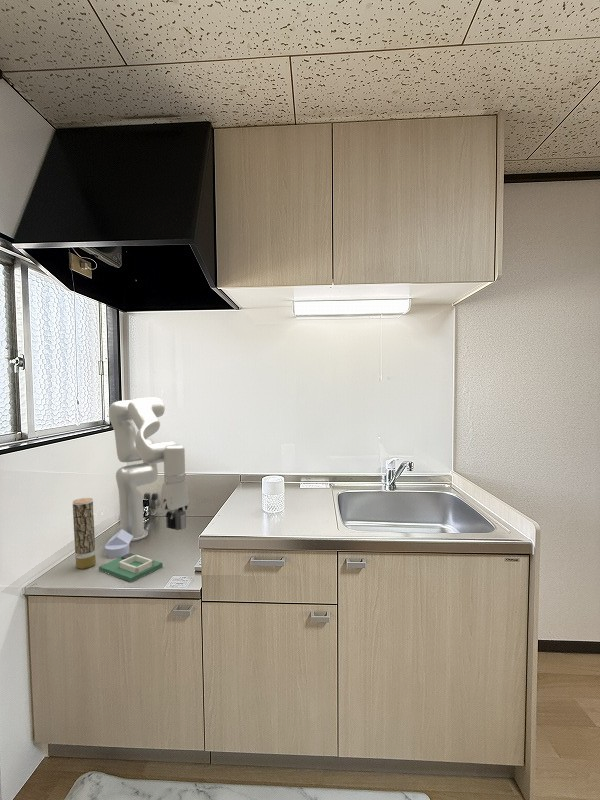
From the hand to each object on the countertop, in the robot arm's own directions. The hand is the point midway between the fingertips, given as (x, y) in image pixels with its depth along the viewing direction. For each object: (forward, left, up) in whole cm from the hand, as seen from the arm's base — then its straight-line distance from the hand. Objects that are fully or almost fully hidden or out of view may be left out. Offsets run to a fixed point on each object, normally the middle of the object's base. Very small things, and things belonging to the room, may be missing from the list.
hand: (176, 525), depth 169 cm
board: (-13, -11, -15) cm, 23 cm away
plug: (0, 0, 0) cm, 0 cm away
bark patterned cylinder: (-30, -18, -15) cm, 38 cm away
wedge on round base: (-31, -3, -15) cm, 35 cm away
